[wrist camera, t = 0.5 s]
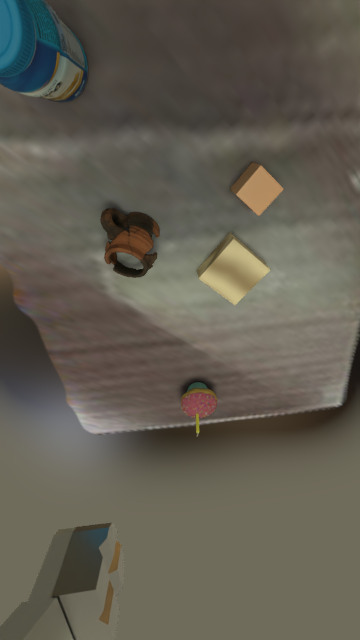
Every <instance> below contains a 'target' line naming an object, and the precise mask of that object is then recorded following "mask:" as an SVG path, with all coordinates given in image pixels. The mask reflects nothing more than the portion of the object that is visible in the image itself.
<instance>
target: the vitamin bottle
mask: <svg viewBox="0 0 360 640" xmlns="http://www.w3.org/2000/svg"><path fill="white" fill-rule="evenodd" d="M87 77H88V64H87V59H86V55H85V52H84V49H83V47H82V45H81V43H80V41H79V40H78V38H77V37H76V36H75V34H74V33H73V32H72V31H71V30H70V29H69V28H68V27H67V26H66V25H65V24H64V23H63V22H62V21H61V20H60V19H59V17H58V16H57V15H56V13H55V12H54V10H53V9H52V8H51V6H50V5H49V4H48V3H47V2H46V1H45V0H0V84H2V85H3V86H5V87H7V88H9V89H11V90H14V91H17V92H19V93H21V94H24V95H27V96H30V97H42V98H47V99H50V100H52V101H56V102H69V101H72V100H74V99H75V98H77V97H78V96H79V95H80V94H81V93H82V91H83V89H84V87H85V85H86V82H87Z"/></svg>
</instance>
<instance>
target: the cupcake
mask: <svg viewBox="0 0 360 640" xmlns="http://www.w3.org/2000/svg"><path fill="white" fill-rule="evenodd" d="M216 407H217V397H216V394H215V393H214V392H213V391H212V390H210V389H208V388H207V386H206V385H205V384H203V383H200V382H196V383H193V384H191V385H190V386H189V387H188V390H187V392H186V393H185V394H183V395H182V398H181V408H182V410H183V412H184V413H186V414H187V415H188V416H190V417H191V418H192V417H193V418H196V432H197V436H198V433H199V418H204V417H206V416H208V415H210V414H212V413H213V412H214V410H215V409H216Z"/></svg>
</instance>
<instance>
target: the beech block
mask: <svg viewBox="0 0 360 640" xmlns="http://www.w3.org/2000/svg"><path fill="white" fill-rule="evenodd" d="M269 271H270V268H269V267H268V266H267V265H266V263H265V262H264V261H263V260H262V259H261V258H259V257H258V256H257V255H256V254H255V253H253V252H252V251H251V250H250V249H249V248H248V247H246V246H245V245H244V244H243V243H242V242H241V241H239V240H238V239H237V238H236V237H235V236H234V235H232V234H231V233H229V234H228V235H227V236H226V237H225V238H224V240H223V241H222V242H221V243H220V244H219V245H218V247H217V248H216V249H215V250H214V251H213V252H212V253H211V255H210V256H209V257H208V258H207V259H206V260H205V261H204V263H203V264H202V265H201V266H200V267H199V268H198V269H197V273H198V278H199V279H200V280H201V281H203V282H204V283H205V284H207V285H208V286H210V287H211V288H212V289H214V290H215V291H216V292H218V293H219V294H220V295H222V296H223V297H224V298H226V299H227V300H229V301H230V302H231V303H233V304H234V305H236V304H237V303H238V302H239V301H240V300H241V299H242V298H243V297H244V296H245V295H246V294H247V293H248V292H249V291H250V290H251V289H252V288H253V287H254V286H255V285H256V284H257V283H258V282H259V281H260V280H261V279H262V278H263V277H264V276H265V275H266V274H267V273H268V272H269Z"/></svg>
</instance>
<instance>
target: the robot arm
mask: <svg viewBox="0 0 360 640" xmlns="http://www.w3.org/2000/svg"><path fill="white" fill-rule="evenodd" d="M117 533H118V532H117V529H116V526H115V523H106V524H97V525H89V526H82V527H74V528H67V529H60V530H58V531H57V532H56V534H55V535H54V536H53V539H52V541H51V544H50V546H49V549H48V551H47V554H46V556H45V559H44V561H43V564H42V566H41V569H40V572H39V574H38V576H37V579H36V581H35V584H34V586H33V589H32V592H31V594H30V596H29V599H28V601H27V602H22V603H21V604H20V605H19V606H18V607H17V608H16V609H15V610H14V612H13V613H12V614H11V615H10V616H9V617H8V618H7V619H6V621H5V622H4V623H3V624H2V625H1V626H0V640H115V638H116V631H117V624H118V617H119V610H120V609H119V605H118V602H117V599H116V597H117V595H118V594H119V592H120V591H121V589H122V588H123V581H124V554H123V549H122V545H121V544H120V543H119V542H117V541H116V539H117Z"/></svg>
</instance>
